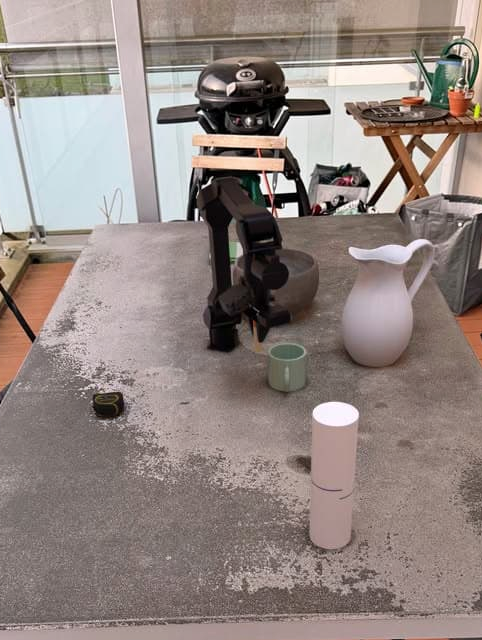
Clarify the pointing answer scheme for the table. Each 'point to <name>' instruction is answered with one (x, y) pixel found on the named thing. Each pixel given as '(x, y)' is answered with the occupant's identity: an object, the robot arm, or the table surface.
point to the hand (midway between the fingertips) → (258, 340)
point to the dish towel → (234, 251)
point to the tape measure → (108, 403)
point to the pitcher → (382, 303)
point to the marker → (257, 346)
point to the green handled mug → (287, 367)
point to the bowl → (291, 279)
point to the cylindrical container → (332, 473)
